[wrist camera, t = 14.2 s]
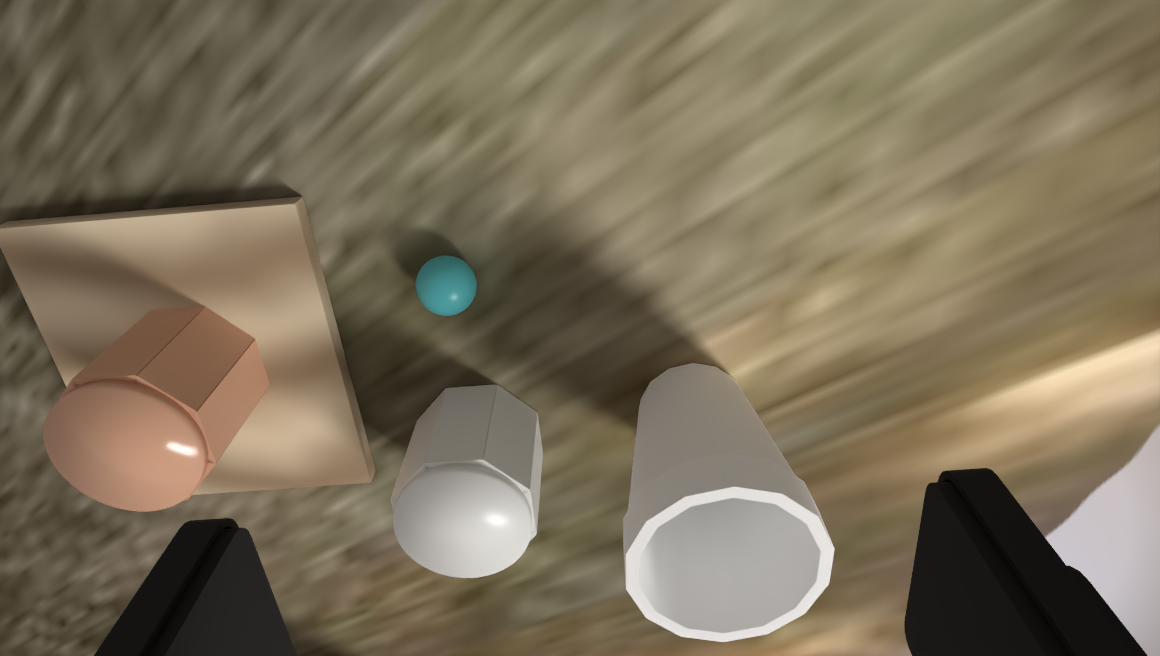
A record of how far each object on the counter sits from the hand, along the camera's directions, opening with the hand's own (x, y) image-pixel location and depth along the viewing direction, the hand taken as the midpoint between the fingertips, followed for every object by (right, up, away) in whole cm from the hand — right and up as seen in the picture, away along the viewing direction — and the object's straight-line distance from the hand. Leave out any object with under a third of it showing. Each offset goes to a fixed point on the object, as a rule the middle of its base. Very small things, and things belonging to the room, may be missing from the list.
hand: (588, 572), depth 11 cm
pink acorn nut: (-22, +1, +32) cm, 39 cm away
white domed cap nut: (-6, -3, +36) cm, 37 cm away
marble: (-7, +6, +29) cm, 31 cm away
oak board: (-22, +2, +33) cm, 40 cm away
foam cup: (+7, -1, +35) cm, 36 cm away
